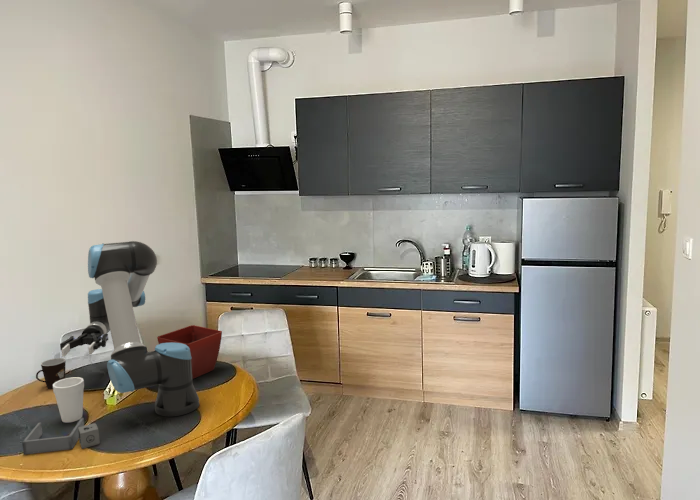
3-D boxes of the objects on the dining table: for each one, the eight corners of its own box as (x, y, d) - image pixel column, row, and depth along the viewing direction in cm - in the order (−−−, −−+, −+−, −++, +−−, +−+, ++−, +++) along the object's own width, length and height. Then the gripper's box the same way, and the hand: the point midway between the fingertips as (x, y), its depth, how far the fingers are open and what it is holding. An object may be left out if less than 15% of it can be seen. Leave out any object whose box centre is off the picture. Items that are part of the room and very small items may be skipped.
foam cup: (92, 416, 185) (89, 380, 183) (66, 427, 177) (62, 390, 175) (77, 410, 190) (73, 375, 188) (51, 420, 182) (47, 384, 180)
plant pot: (190, 384, 210) (186, 343, 208) (159, 375, 221) (155, 336, 218) (225, 369, 226) (223, 330, 224) (195, 361, 236) (192, 324, 234)
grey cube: (79, 442, 167) (77, 427, 166) (96, 437, 169) (95, 422, 169) (82, 449, 163) (80, 433, 162) (99, 443, 165) (98, 428, 165)
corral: (84, 429, 175) (83, 418, 174) (72, 449, 162) (70, 436, 162) (39, 434, 172) (38, 422, 172) (23, 454, 160) (22, 442, 159)
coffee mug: (64, 379, 218) (61, 356, 217) (71, 385, 212) (68, 361, 211) (32, 388, 210) (29, 364, 209) (38, 394, 204) (35, 369, 203)
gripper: (122, 340, 216) (108, 359, 194) (66, 344, 212) (45, 364, 190) (121, 322, 215) (106, 339, 193) (64, 326, 211) (43, 344, 189)
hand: (76, 351), depth 191 cm, fingers open, 8 cm apart
